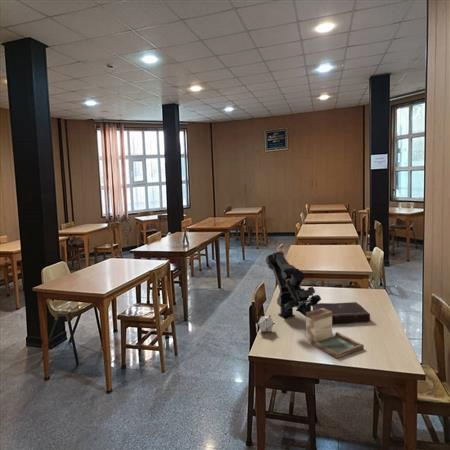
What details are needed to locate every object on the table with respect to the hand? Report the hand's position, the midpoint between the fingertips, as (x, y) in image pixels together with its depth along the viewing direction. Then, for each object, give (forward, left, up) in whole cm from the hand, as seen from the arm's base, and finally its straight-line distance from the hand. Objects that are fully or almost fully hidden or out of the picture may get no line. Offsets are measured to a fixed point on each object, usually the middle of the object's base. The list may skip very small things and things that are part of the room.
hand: (311, 319), depth 172 cm
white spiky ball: (-13, -17, -7) cm, 22 cm away
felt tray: (+16, 0, -7) cm, 18 cm away
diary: (-7, +25, -7) cm, 27 cm away
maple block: (+5, 0, -7) cm, 8 cm away
